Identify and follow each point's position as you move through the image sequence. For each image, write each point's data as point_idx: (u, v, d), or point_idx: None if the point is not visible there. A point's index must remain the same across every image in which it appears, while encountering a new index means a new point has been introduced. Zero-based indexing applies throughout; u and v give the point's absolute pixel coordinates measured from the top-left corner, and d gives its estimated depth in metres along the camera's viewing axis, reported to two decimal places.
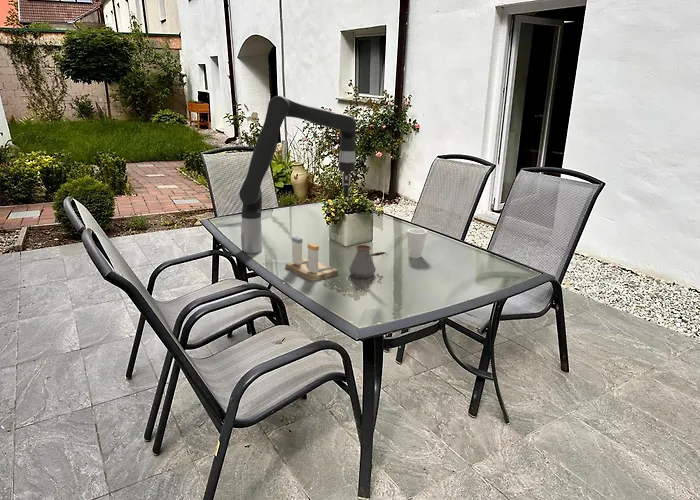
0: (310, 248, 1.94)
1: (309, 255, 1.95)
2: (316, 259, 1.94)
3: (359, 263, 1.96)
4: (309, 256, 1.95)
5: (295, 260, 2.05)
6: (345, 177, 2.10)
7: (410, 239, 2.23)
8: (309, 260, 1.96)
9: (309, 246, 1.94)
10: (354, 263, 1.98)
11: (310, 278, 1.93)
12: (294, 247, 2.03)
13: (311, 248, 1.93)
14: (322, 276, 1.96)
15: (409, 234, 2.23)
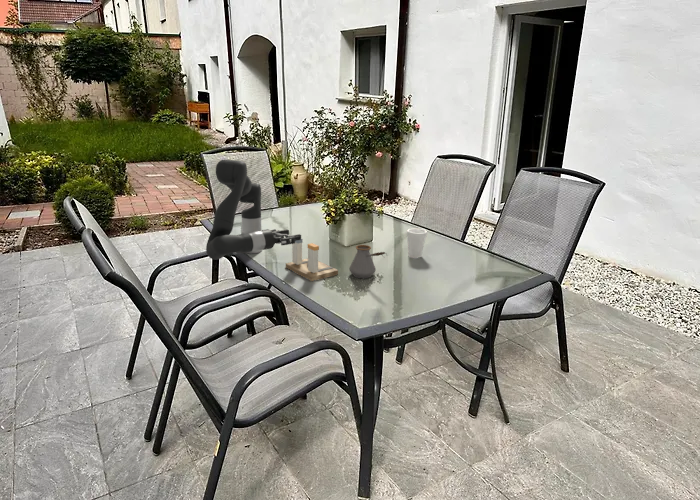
0: (310, 248, 1.94)
1: (309, 255, 1.95)
2: (316, 259, 1.94)
3: (359, 263, 1.96)
4: (309, 256, 1.95)
5: (295, 260, 2.05)
6: None
7: (410, 239, 2.23)
8: (309, 260, 1.96)
9: (309, 246, 1.94)
10: (354, 263, 1.98)
11: (310, 278, 1.93)
12: (294, 247, 2.03)
13: (311, 248, 1.93)
14: (322, 276, 1.96)
15: (409, 234, 2.23)
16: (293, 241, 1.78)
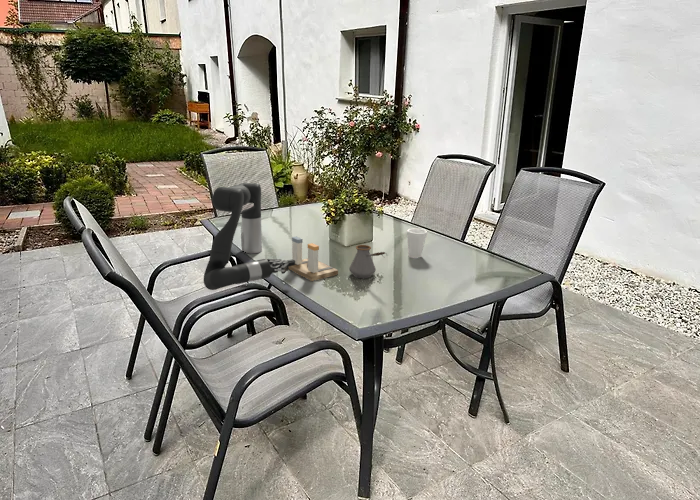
0: (310, 248, 1.94)
1: (309, 255, 1.95)
2: (316, 259, 1.94)
3: (359, 263, 1.96)
4: (309, 256, 1.95)
5: (295, 260, 2.05)
6: None
7: (410, 239, 2.23)
8: (309, 260, 1.96)
9: (309, 246, 1.94)
10: (354, 263, 1.98)
11: (310, 278, 1.93)
12: (294, 247, 2.03)
13: (311, 248, 1.93)
14: (322, 276, 1.96)
15: (409, 234, 2.23)
16: (287, 267, 1.84)
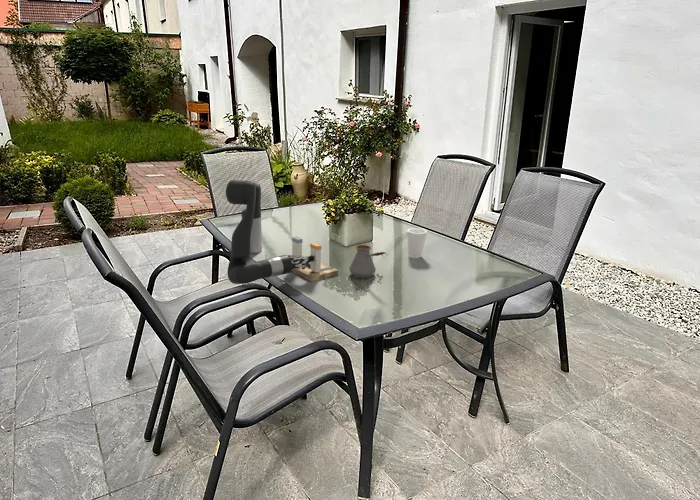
0: (313, 247, 1.94)
1: (312, 254, 1.96)
2: (319, 258, 1.95)
3: (359, 263, 1.96)
4: (312, 255, 1.96)
5: None
6: None
7: (410, 239, 2.23)
8: None
9: (312, 245, 1.95)
10: (354, 263, 1.98)
11: (310, 278, 1.93)
12: (294, 247, 2.03)
13: (314, 247, 1.94)
14: (322, 276, 1.96)
15: (409, 234, 2.23)
16: (306, 263, 1.90)
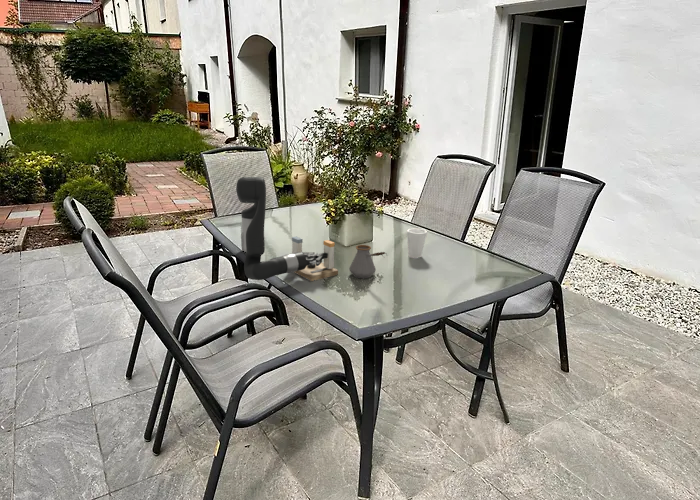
0: (326, 245, 1.99)
1: (325, 251, 2.00)
2: (332, 255, 1.99)
3: (359, 263, 1.96)
4: (325, 252, 2.00)
5: None
6: None
7: (410, 239, 2.23)
8: None
9: (325, 243, 1.99)
10: (354, 263, 1.98)
11: (310, 278, 1.93)
12: (294, 247, 2.03)
13: (327, 245, 1.98)
14: (322, 276, 1.96)
15: (409, 234, 2.23)
16: (320, 260, 1.95)
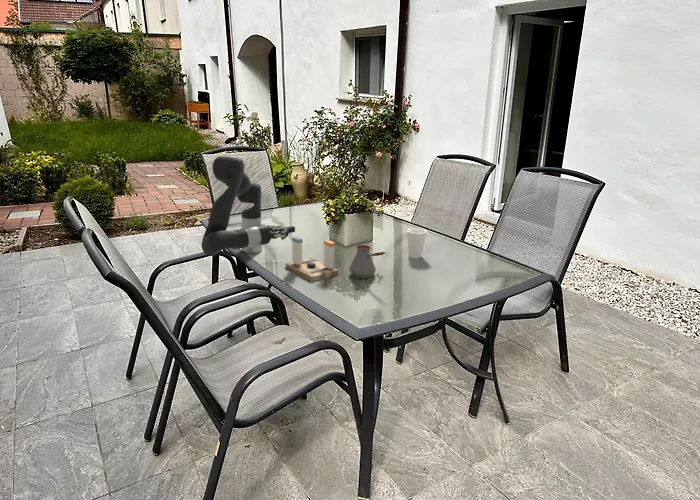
0: (326, 245, 1.99)
1: (325, 251, 2.00)
2: (332, 255, 2.00)
3: (359, 263, 1.96)
4: (325, 252, 2.01)
5: (295, 260, 2.05)
6: None
7: (410, 239, 2.23)
8: (325, 256, 2.01)
9: (325, 243, 1.99)
10: (354, 263, 1.98)
11: (310, 278, 1.93)
12: (294, 247, 2.03)
13: (328, 244, 1.98)
14: (322, 276, 1.96)
15: (409, 234, 2.23)
16: None
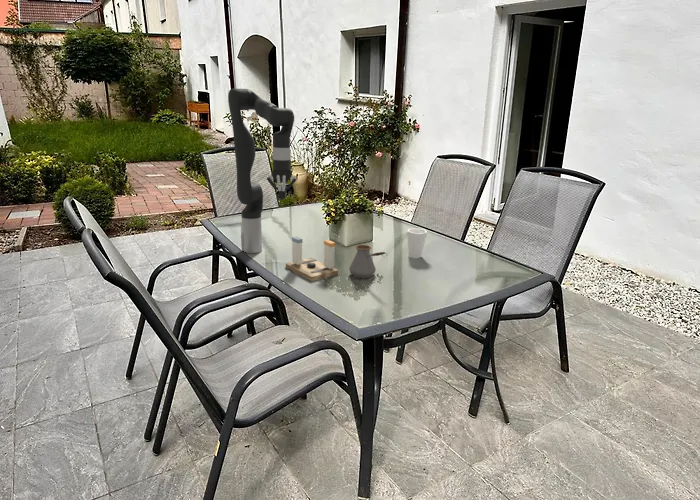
0: (326, 245, 1.99)
1: (325, 251, 2.00)
2: (332, 255, 2.00)
3: (359, 263, 1.96)
4: (325, 252, 2.01)
5: (295, 260, 2.05)
6: None
7: (410, 239, 2.23)
8: (325, 256, 2.01)
9: (325, 243, 1.99)
10: (354, 263, 1.98)
11: (310, 278, 1.93)
12: (294, 247, 2.03)
13: (328, 244, 1.98)
14: (322, 276, 1.96)
15: (409, 234, 2.23)
16: None
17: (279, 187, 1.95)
